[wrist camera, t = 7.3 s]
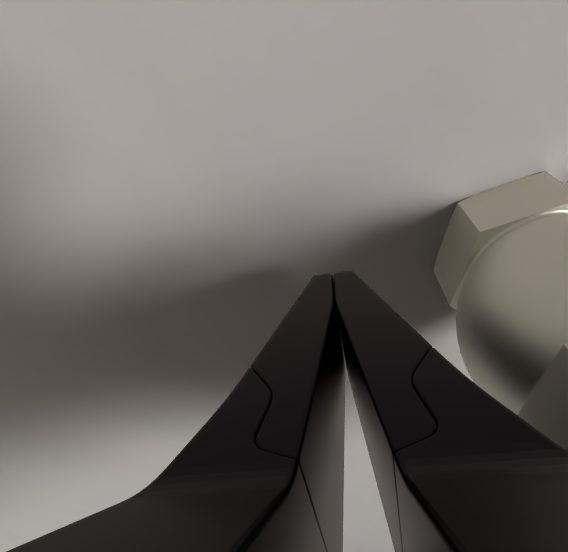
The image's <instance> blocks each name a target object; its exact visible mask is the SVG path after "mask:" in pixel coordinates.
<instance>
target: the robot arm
mask: <svg viewBox="0 0 568 552" xmlns="http://www.w3.org/2000/svg"><path fill="white" fill-rule="evenodd" d="M333 278H334V281H333ZM342 344H343V345H342ZM343 350H344V353H343ZM344 355H345V361H346V367H347V372H348V376H349V380H350V384H351V388H352V391H353V395H354V399H355V403H356V406H357V410H358V414H359V418H360V421H361V425H362V429H363V433H364V436H365V440H366V444H367V448H368V452H369V455H370V459H371V463H372V467H373V470H374V474H375V478H376V482H377V485H378V489H379V493H380V497H381V500H382V504H383V508H384V512H385V515H386V519H387V523H388V527H389V531H390V534H391V538H392V542H393V546H394V549H395V552H568V451H567V450H565V449H564V448H562V447H561V446H559V445H558V444H556V443H555V442H554V441H552V440H551V439H549V438H548V437H547V436H545V435H544V434H543V433H541V432H540V431H538V430H537V429H536V428H534V427H533V426H532V425H530V424H529V423H528V422H526V421H525V420H523V419H522V418H521V417H519V416H518V415H517V414H515V413H514V412H513V411H511V410H510V409H508V408H507V407H506V406H504V405H503V404H502V403H500V402H499V401H497V400H496V399H495V398H493V397H492V396H491V395H489V394H488V393H487V392H485V391H484V390H483V389H481V388H480V387H479V386H478V385H476V384H475V383H474V382H472V381H471V380H470V379H469V378H467V377H466V376H465V375H463V374H462V373H461V372H460V371H459V370H458V369H457V368H456V367H454V366H453V365H452V364H451V363H450V362H449V361H448V360H446V359H445V358H444V357H443V356H442V355H441V354H440V353H439V352H438V351H437V350H436V349H435V348H432V346H431V345H430V344H429V343H428V342H427V341H426V340H425V339H424V338H423V337H422V336H421V335H420V334H418V333H417V332H416V331H415V330H414V329H413V328H412V327H411V326H410V325H409V324H408V323H407V322H406V321H405V320H404V319H402V318H401V317H400V316H399V315H398V314H397V313H396V312H395V311H394V310H393V309H392V308H391V307H390V306H389V305H388V304H386V303H385V302H384V301H383V300H382V299H381V298H380V297H379V296H378V295H377V294H376V293H375V292H374V291H373V290H371V289H370V288H369V287H368V286H367V285H366V284H365V283H364V282H363V281H362V280H361V279H360V278H359V277H358V276H357V275H355V274H354V273H353V272H352V271H344V272H338V273H335V274H334V276H333V277H332V275H331V274H324V275H317V276H314V277H313V278H312V279H311V281H310V282H309V284H308V285H307V287H306V288H305V289H304V291H303V292H302V294H301V295H300V297H299V298H298V299H297V301H296V302H295V304H294V305H293V307H292V308H291V309H290V311H289V312H288V314H287V315H286V317H285V318H284V319H283V321H282V322H281V324H280V325H279V326H278V328H277V329H276V331H275V332H274V334H273V335H272V336H271V338H270V339H269V341H268V342H267V344H266V345H265V346H264V348H263V349H262V351H261V352H260V354H259V355H258V356H257V358H256V359H255V361H254V362H253V363H252V365H251V368H249V369H248V370H247V372H246V373H245V375H244V376H243V377H242V379H241V380H240V382H239V383H238V384H237V386H236V387H235V388H234V390H233V391H232V392H231V394H230V395H229V396H228V398H227V399H226V400H225V401H224V403H223V404H222V405H221V406H220V407H219V408H218V410H217V411H216V412H215V413H214V414H213V416H212V417H211V418H210V419H209V420H208V421H207V423H206V424H205V425H204V426H203V427H202V428H201V429H200V430H199V432H198V433H197V434H196V435H195V436H194V437H193V438H192V440H191V441H190V442H189V443H188V444H187V445H186V446H185V447H184V449H183V450H182V451H181V452H180V453H179V454H178V455H177V456H176V458H175V459H174V460H173V461H172V462H171V463H170V464H169V466H168V467H167V468H166V469H165V470H164V471H163V472H162V473H161V474H160V475H159V476H158V477H157V478H156V479H155V480H154V481H153V482H152V483H151V484H150V485H148V486H147V487H146V488H145V489H143V490H142V491H140V492H139V493H138V494H136V495H134V496H133V497H131V498H129V499H127V500H125V501H123V502H121V503H118V504H116V505H114V506H111V507H109V508H107V509H104V510H102V511H100V512H97V513H95V514H93V515H90V516H88V517H86V518H83V519H81V520H79V521H76V522H74V523H72V524H69V525H67V526H65V527H62V528H60V529H58V530H55V531H53V532H51V533H48V534H46V535H44V536H41V537H39V538H37V539H34V540H32V541H30V542H27V543H25V544H23V545H20V546H18V547H16V548H13V549H11V550H9V551H7V552H343V489H344V422H345V363H344Z"/></svg>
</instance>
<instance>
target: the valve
mask: <svg viewBox="0 0 568 552" xmlns="http://www.w3.org/2000/svg"><path fill="white" fill-rule="evenodd" d="M433 271H434V273H435V275H436V277H437V280H438V282H439V284H440V286H441V288H442V290H443V293H444V295H445V297H446V299H447V301H448V304H449V306H450V307H452V308H453V309H455V310H456V331H457V339H458V344H459V348H460V352H461V355H462V358H463V360H464V363H465V366H466V368H467V370H468V372H469V374H470V376H471V378H472V379H473V381H474V383H475V384H476V385H478V386H479V387H480V388H481V389H483V390H484V391H485V392H487V393H488V394H489V395H491V396H492V397H493V398H495V399H496V400H497V401H499V402H500V403H502V404H503V405H504V406H506V407H507V408H508V409H510V410H511V411H513V412H514V413H515V414H517V415H518V416H519V417H521V418H522V419H523V420H525V421H526V422H528V423H529V424H530V425H532V426H533V427H534V428H536V429H537V430H538V431H540V432H541V433H543V434H544V435H545V436H547V437H548V438H549V439H551V440H552V441H554V442H555V443H556V444H558V445H559V446H561V447H562V448H564V449H565V450H567V451H568V186H566V185H565V184H563V183H562V182H561V181H559V180H558V179H556V178H555V177H553V176H552V175H550V174H549V173H548V172H542V173H538V174H534V175H530V176H526V177H524V178H521V179H518V180H515V181H512V182H510V183H507V184H504V185H501V186H498V187H496V188H493V189H490V190H487V191H484V192H482V193H479V194H476V195H473V196H471V197H469V198H467V199H465V200H462V201H460V202H458V204H457V206H456V208H455V210H454V212H453V214H452V216H451V219H450V222H449V224H448V227H447V230H446V233H445V235H444V238H443V241H442V244H441V247H440V249H439V252H438V255H437V258H436V262H435V266H434V270H433Z"/></svg>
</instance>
